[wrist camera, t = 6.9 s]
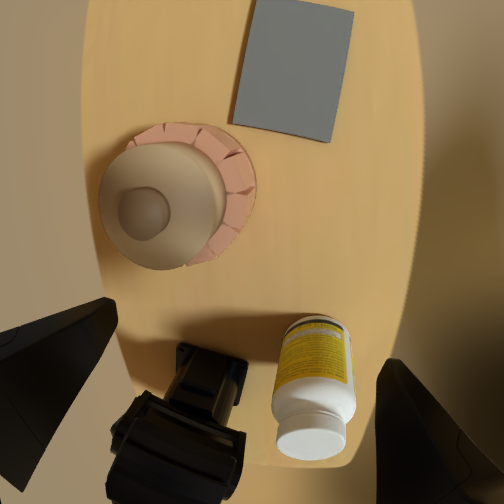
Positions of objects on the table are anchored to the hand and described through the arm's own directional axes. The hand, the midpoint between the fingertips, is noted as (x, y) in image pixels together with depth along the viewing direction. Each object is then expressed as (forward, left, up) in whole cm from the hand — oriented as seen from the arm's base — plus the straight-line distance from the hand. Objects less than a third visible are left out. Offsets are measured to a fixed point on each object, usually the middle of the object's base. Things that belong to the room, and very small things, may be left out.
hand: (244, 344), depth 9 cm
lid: (+1, +6, -8) cm, 11 cm away
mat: (+10, +1, -12) cm, 16 cm away
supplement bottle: (-9, -5, -12) cm, 16 cm away
